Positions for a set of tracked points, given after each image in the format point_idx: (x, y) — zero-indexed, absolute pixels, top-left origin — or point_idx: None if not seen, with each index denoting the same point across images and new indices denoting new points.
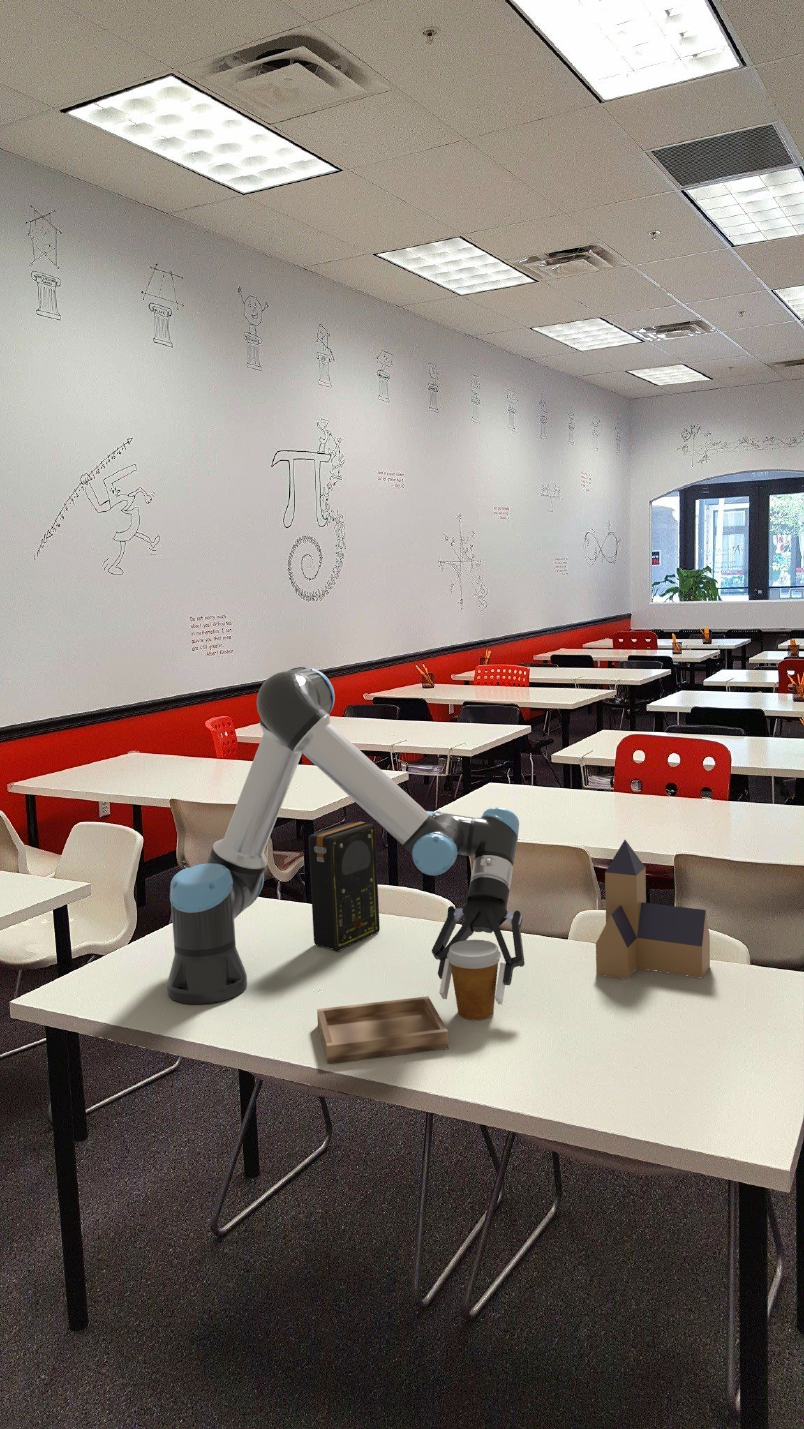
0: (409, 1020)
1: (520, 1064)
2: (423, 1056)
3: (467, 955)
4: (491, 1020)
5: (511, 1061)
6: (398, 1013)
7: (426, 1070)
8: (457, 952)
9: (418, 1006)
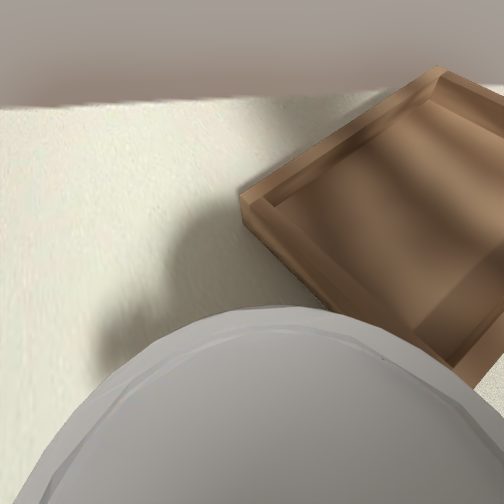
0: (414, 282)
1: (66, 224)
2: None
3: (270, 381)
4: None
5: (88, 227)
6: (482, 312)
7: (243, 142)
8: (401, 419)
9: (453, 357)
